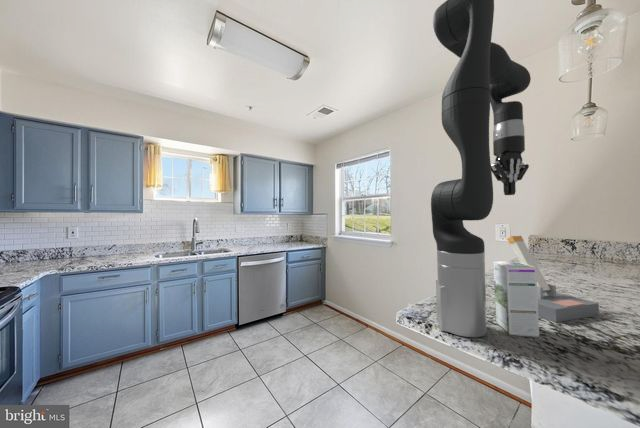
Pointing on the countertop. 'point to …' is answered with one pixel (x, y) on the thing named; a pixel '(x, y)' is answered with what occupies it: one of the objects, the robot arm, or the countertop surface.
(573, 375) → the countertop surface
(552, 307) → the base
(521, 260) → the breaker handle
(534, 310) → the syrup box
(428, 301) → the countertop surface
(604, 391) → the countertop surface
